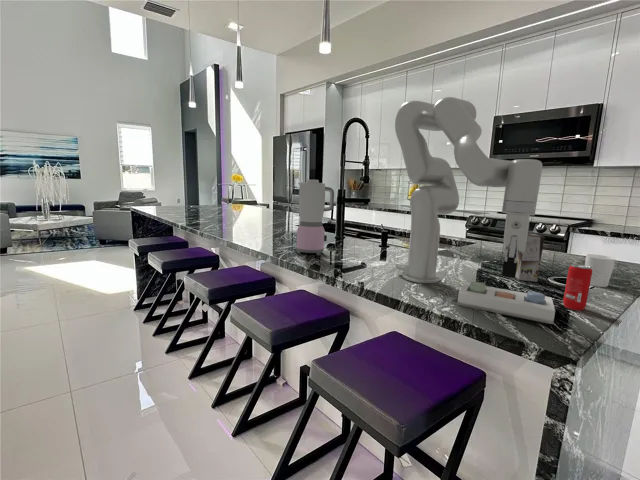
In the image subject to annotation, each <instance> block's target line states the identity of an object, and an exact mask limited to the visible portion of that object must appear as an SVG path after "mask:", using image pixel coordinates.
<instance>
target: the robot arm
mask: <svg viewBox="0 0 640 480" xmlns="http://www.w3.org/2000/svg"><path fill="white" fill-rule="evenodd" d="M476 118H477V108H476V106H475V105H474V104H473V103H472V102H470V101H468V100H465V99H461V98H457V97H453V96H448V97H447V96H446V97H443V98H441V99H439V100H438V101H436V102H435V103H431V102H425V101H421V100H409V101H407V102H404V103H403V104H402V105H401V106H400V107H399V109H398V110H397V113H396V117H395V119H394V129H395V135H396V137H397V141H398V143H399V146H400V149H401V151H402V157H403V161H404V164H405V165H404V166H405V169H406V174H407V176H408V179H409V181H410V182H411V183H412V184H415V185H423V186H419V187H417V188H416V189H414V190H413V191H412V192H411V195H410V199H409V206H410V214H411V215H410V216H411V217H410V231H409V233H410V235H409V243H408V244H409V245H408V254H407V255H408V256H407V262H406V263H400V262H396V263H395V268H396V270H399V271H403V272H402V273H401V277H402V278H403V280H407V281H410V282H414V283H419V284H436V283H439V282H440V280H441V277H440V276H439V274H436V273H437V263H438V257H439V256H438V254H439V247H440V246H439V245H440V235H441V223H440V219H439V216H440V215H449V214H453V212H455V211H456V210H457V208H458V207H459V204H460V195H459V191H458V187H457V184H456V180H455V176H454V172H453V170H452V167H451V164H450V163H449V162H448V161H447V160H446V159H444V158H441V157H436V156H432V154H431V153H430V150H429V147H428V143H427V141H426V138H425V137H424V135H423V134H422V133H421V131H420V130H424V131H425V130H426V131H432V132H433V131H434V132H440V131H442V132H443V133H444V135H445V136H446V137H447V139H448V140H449V142H450V143H451V144H452V145H453V147H454V148H453V155H454V161H455V163H456V165H457V167H458V168H459V170H460V171H461V172H462V174H463V175H464V176H465V177H466V178H467V180H468V181H469V182H470V183H472V184H473V185H474V186H478V187H484V188H485V187H486V188H504V195H503V201H502V206H501V207H502V210H501V213H503V214H506V217H505V225H504V233H503V251H504V252H505V257H504V260H503V263H502V264H503V265H502V271H501V276H502V277H506V278H513V279H515V278H516V277H515V276H516V269H517V256H518V250H519V252H522V254H523V253H525V247H526V241H527V235H528V233H529V229H530V220H531V219H530V218H531V216H535V215H536V211H537V210H536V209H537V202H538V198H539V197H538V196H539V192H540V184H541V180H542V173H543V163H542V161H541V160H538V159H533V158H532V159H531V158H527V159H525V158H523V159H522V158H520V159H519V158H518V159H513V160H507V159H500V158H499V159H498V158H492V157H488V156H487V155H486V154H485V153H484V151H483V150H482V149H481V148H480V147H479V145H478V142H477V141H478V140H479V138H480V137H481V135H482V132H483V130H482V128H481V126H480V124H478V122H477V120H476ZM438 215H439V216H438Z"/></svg>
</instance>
